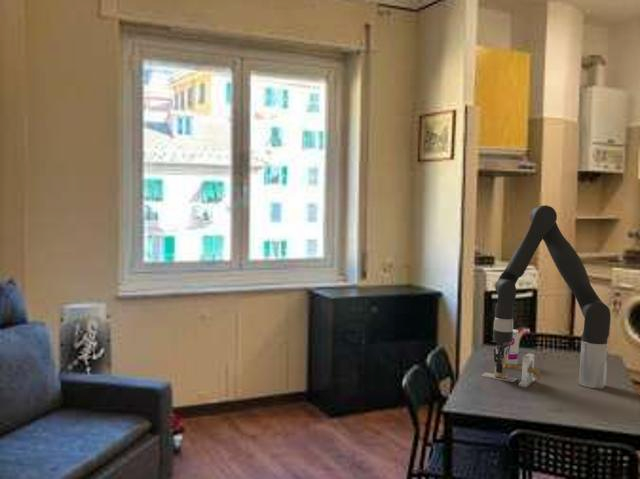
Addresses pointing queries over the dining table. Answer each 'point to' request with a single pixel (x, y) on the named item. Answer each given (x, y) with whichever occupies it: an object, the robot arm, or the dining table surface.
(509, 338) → the robot arm
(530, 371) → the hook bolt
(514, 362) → the supplement can
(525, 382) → the white stand
